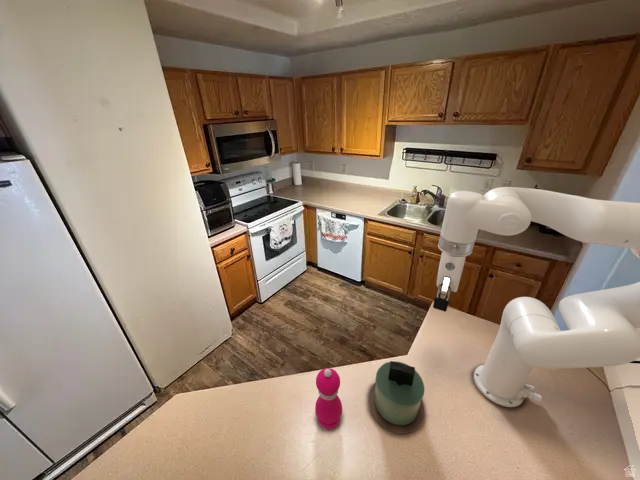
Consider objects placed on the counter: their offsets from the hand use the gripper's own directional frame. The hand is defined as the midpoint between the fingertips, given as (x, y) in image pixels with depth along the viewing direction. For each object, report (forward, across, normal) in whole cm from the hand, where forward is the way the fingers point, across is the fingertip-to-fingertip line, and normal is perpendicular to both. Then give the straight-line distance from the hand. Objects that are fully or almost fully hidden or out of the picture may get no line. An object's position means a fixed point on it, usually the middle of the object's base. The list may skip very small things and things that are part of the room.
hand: (442, 297), depth 70 cm
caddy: (+27, -17, +5) cm, 32 cm away
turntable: (+28, -17, +5) cm, 33 cm away
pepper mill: (+28, -29, +20) cm, 45 cm away
